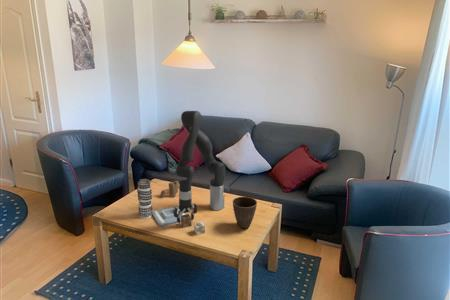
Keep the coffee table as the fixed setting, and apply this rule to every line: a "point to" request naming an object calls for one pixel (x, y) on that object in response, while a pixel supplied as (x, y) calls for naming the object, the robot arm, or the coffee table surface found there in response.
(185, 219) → the block
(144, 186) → the grey stacked tower
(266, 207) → the coffee table surface
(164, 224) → the jig
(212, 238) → the coffee table surface
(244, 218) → the plant pot
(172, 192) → the wooden block set
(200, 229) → the block
